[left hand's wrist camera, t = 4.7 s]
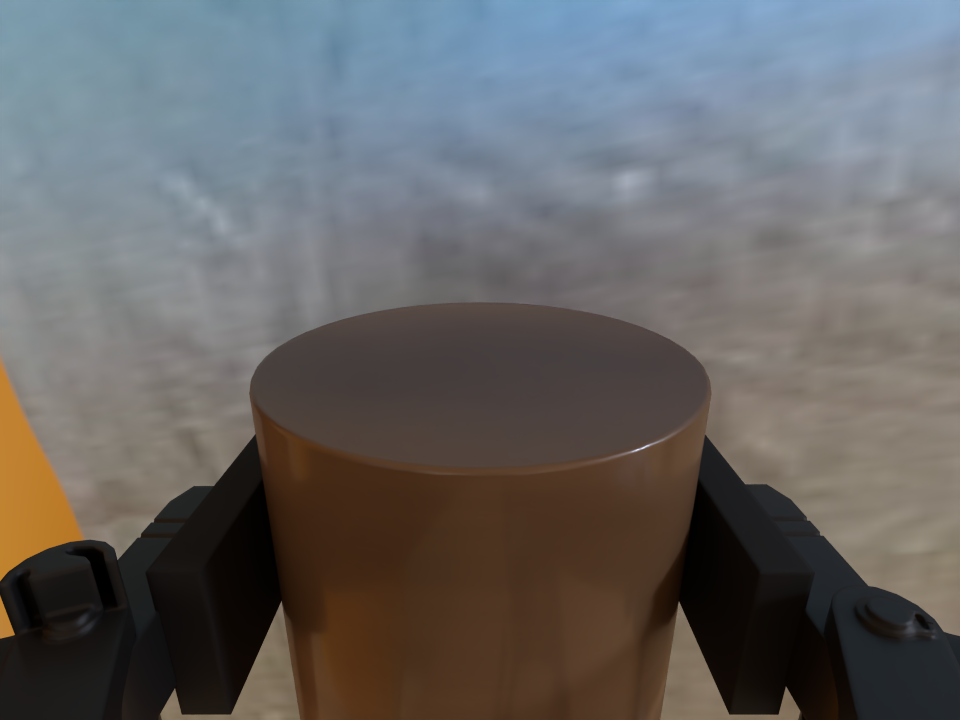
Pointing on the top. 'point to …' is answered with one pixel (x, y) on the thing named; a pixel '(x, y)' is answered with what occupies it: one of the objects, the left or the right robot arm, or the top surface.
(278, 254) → the top surface
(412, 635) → the rod
